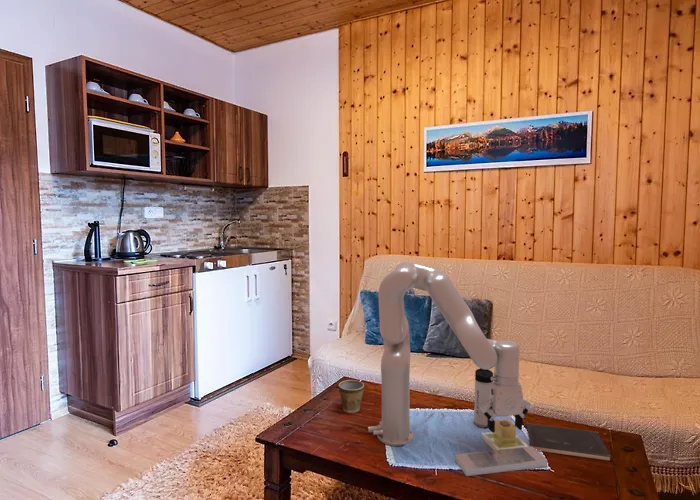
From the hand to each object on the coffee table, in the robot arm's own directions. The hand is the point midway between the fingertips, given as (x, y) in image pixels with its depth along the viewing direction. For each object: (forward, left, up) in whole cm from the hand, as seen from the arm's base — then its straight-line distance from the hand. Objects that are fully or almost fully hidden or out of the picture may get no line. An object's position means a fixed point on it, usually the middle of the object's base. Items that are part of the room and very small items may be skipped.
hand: (504, 429), depth 142 cm
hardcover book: (+21, -2, -6) cm, 22 cm away
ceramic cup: (-45, +37, -6) cm, 59 cm away
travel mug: (0, +15, -6) cm, 16 cm away
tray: (0, 0, -6) cm, 6 cm away
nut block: (0, 0, -5) cm, 5 cm away
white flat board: (-7, -10, -6) cm, 13 cm away
